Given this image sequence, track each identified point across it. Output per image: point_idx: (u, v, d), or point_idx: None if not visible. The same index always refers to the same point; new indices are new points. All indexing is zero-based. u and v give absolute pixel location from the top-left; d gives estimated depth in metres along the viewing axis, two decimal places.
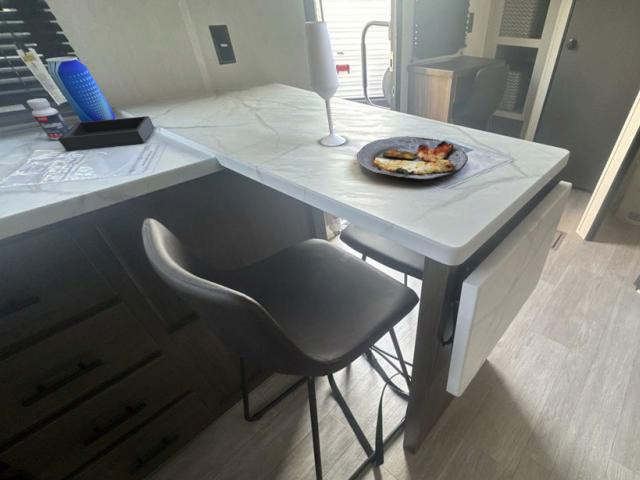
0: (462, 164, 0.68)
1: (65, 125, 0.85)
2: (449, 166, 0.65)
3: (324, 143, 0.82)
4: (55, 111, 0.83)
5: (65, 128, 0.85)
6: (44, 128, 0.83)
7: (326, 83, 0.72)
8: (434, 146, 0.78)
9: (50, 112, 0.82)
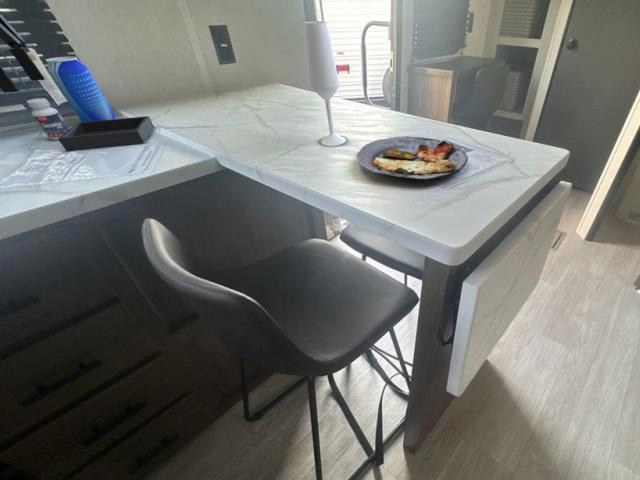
0: (462, 164, 0.68)
1: (65, 125, 0.85)
2: (449, 166, 0.65)
3: (324, 143, 0.82)
4: (55, 111, 0.83)
5: (65, 128, 0.85)
6: (44, 128, 0.83)
7: (326, 83, 0.72)
8: (434, 146, 0.78)
9: (50, 112, 0.82)
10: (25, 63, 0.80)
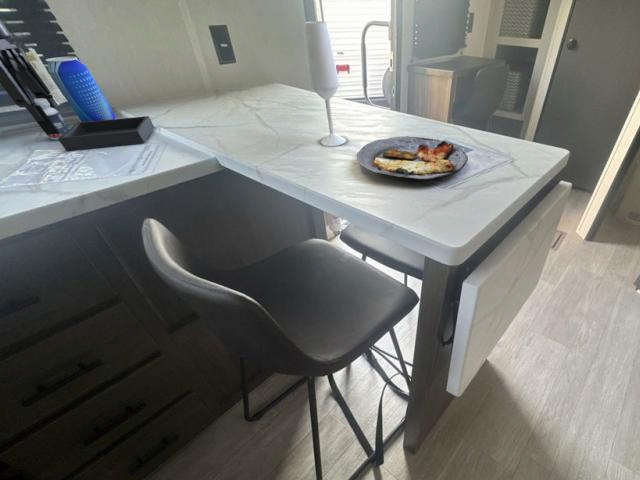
0: (462, 164, 0.68)
1: (65, 125, 0.85)
2: (449, 166, 0.65)
3: (324, 143, 0.82)
4: (55, 111, 0.83)
5: (65, 128, 0.85)
6: None
7: (326, 83, 0.72)
8: (434, 146, 0.78)
9: (50, 112, 0.82)
10: None
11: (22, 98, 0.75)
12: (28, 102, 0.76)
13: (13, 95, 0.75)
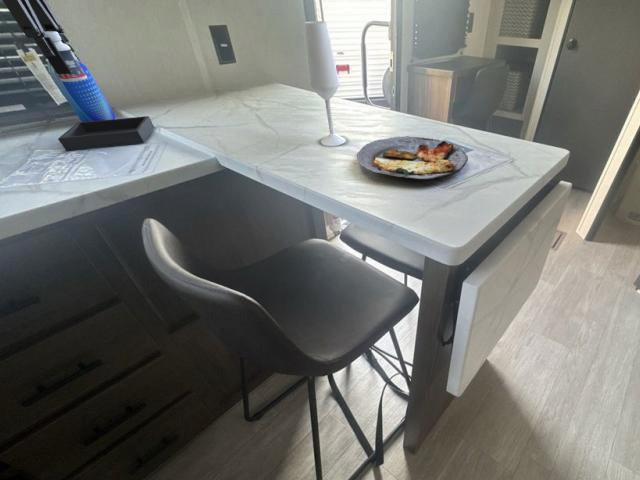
0: (462, 164, 0.68)
1: (78, 65, 0.75)
2: (449, 166, 0.65)
3: (324, 143, 0.82)
4: (67, 47, 0.72)
5: (78, 69, 0.75)
6: None
7: (326, 83, 0.72)
8: (434, 146, 0.78)
9: (61, 47, 0.71)
10: None
11: (30, 24, 0.65)
12: (37, 30, 0.66)
13: (20, 20, 0.64)
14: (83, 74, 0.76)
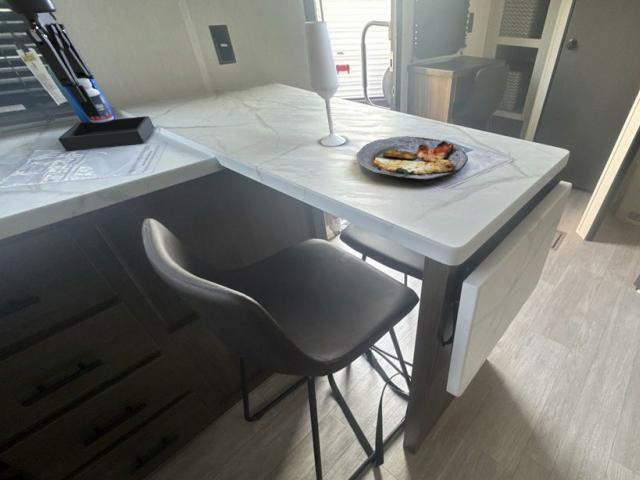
0: (462, 164, 0.68)
1: (106, 107, 0.81)
2: (449, 166, 0.65)
3: (324, 143, 0.82)
4: (97, 92, 0.79)
5: (106, 111, 0.81)
6: None
7: (326, 83, 0.72)
8: (434, 146, 0.78)
9: (92, 93, 0.78)
10: None
11: (66, 76, 0.71)
12: (72, 81, 0.72)
13: (57, 73, 0.71)
14: (110, 115, 0.82)
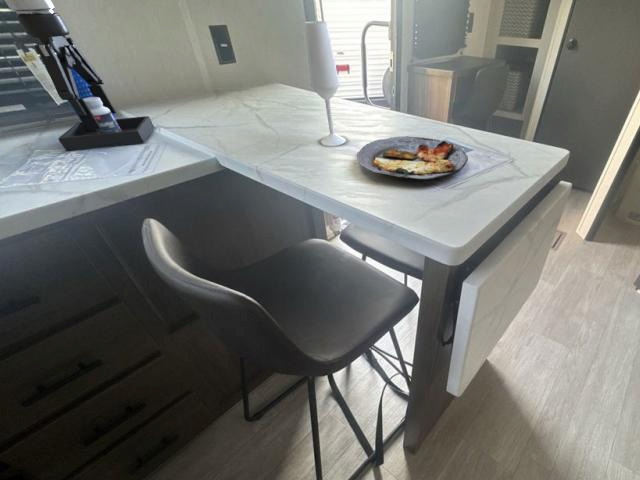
0: (462, 164, 0.68)
1: (116, 124, 0.84)
2: (449, 166, 0.65)
3: (324, 143, 0.82)
4: (108, 110, 0.82)
5: (116, 128, 0.84)
6: None
7: (326, 83, 0.72)
8: (434, 146, 0.78)
9: (103, 111, 0.81)
10: (100, 98, 0.84)
11: (66, 89, 0.70)
12: (72, 94, 0.71)
13: (58, 86, 0.70)
14: None
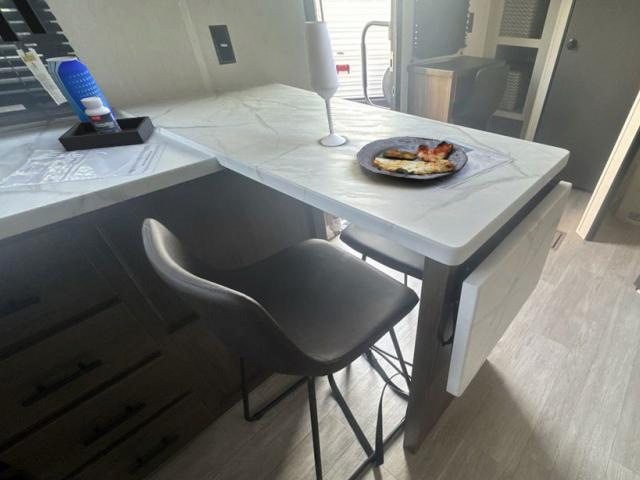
0: (462, 164, 0.68)
1: (116, 124, 0.84)
2: (449, 166, 0.65)
3: (324, 143, 0.82)
4: (108, 110, 0.82)
5: (116, 128, 0.84)
6: (96, 127, 0.82)
7: (326, 83, 0.72)
8: (434, 146, 0.78)
9: (103, 111, 0.81)
10: (27, 13, 0.73)
11: None
12: None
13: None
14: None
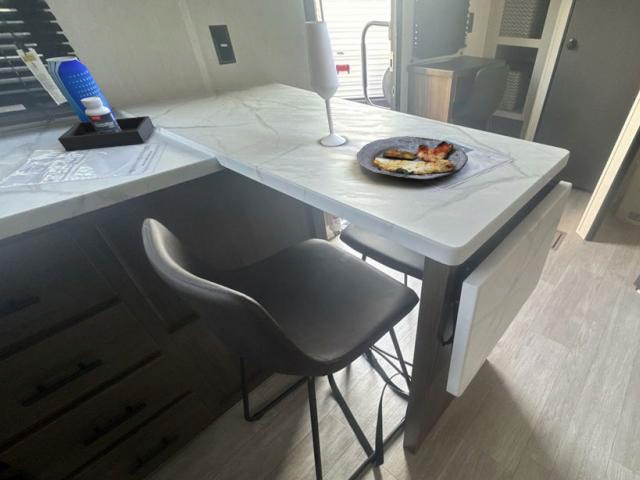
0: (462, 164, 0.68)
1: (116, 124, 0.84)
2: (449, 166, 0.65)
3: (324, 143, 0.82)
4: (108, 110, 0.82)
5: (116, 128, 0.84)
6: (96, 127, 0.82)
7: (326, 83, 0.72)
8: (434, 146, 0.78)
9: (103, 111, 0.81)
10: None
11: None
12: None
13: None
14: None
